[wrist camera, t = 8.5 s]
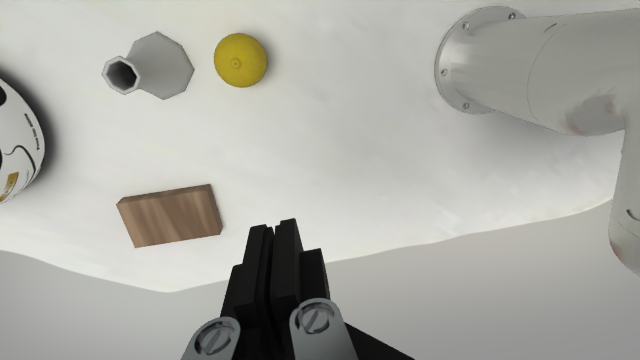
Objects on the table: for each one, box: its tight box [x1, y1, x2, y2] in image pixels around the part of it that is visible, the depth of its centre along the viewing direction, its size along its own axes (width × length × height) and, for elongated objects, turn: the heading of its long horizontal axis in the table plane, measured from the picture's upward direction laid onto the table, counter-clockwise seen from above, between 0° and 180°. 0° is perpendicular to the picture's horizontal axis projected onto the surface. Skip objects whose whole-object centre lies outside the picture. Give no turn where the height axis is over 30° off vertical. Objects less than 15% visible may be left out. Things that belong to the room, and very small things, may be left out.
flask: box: [102, 32, 194, 100], centre depth 34 cm, size 7×7×10 cm
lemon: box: [214, 33, 267, 88], centre depth 36 cm, size 6×6×8 cm
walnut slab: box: [116, 184, 223, 248], centre depth 46 cm, size 2×7×12 cm
